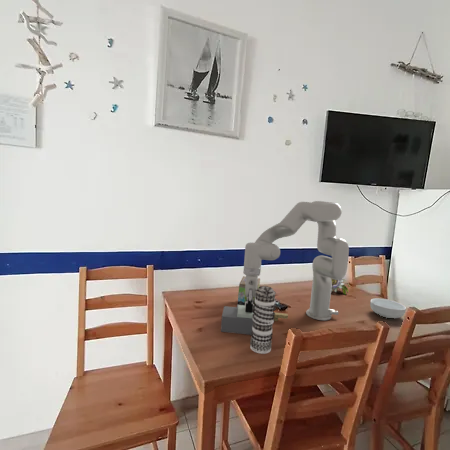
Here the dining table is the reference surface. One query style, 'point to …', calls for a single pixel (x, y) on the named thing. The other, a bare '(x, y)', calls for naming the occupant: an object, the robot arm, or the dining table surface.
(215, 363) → the dining table surface
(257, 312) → the decorative candle
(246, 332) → the case
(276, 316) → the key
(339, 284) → the passion flower
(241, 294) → the tea box
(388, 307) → the cereal bowl
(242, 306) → the lid
